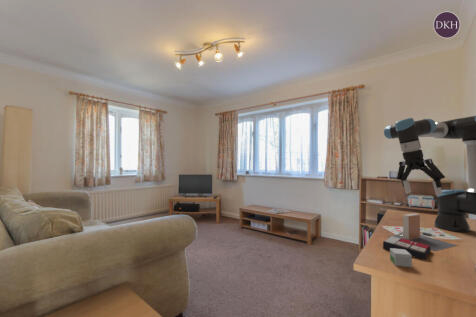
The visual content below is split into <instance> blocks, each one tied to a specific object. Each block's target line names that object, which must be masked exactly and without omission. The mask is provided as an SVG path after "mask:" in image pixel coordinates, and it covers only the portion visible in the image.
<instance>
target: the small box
mask: <svg viewBox="0 0 476 317" xmlns="http://www.w3.org/2000/svg"><path fill="white" fill-rule="evenodd" d="M389 260H390V261H391V262H392V263H393V265H394V266H396V267H403V268H404V267H405V268H413V257H412V255H411V254H410V253H409V252H407V251H406V250H405V249H395V248H390V251H389Z"/></svg>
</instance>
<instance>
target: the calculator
mask: <svg viewBox="0 0 476 317" xmlns="http://www.w3.org/2000/svg"><path fill="white" fill-rule="evenodd" d="M390 236H391V237H388V238H386V239H385V240H383V241H382V242H383V243H382V249H383V250H384V251H385V250H386V251H389V252H390V248H395V249H405V250H406V251H407V252H409V253H410V254H411V255H412V258H416V259H419V260H424V261H425V260H427V257H428V256H429V254H430V253H431V251H432V250H431V247H429V246H428V245H424V244H420V243H417V242H413V241H409V240H405V239H400V238H396V237H393V235H390Z"/></svg>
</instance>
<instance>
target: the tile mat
mask: <svg viewBox="0 0 476 317" xmlns="http://www.w3.org/2000/svg"><path fill="white" fill-rule="evenodd" d="M402 234H403V233H399V234H395V235H394V234H393V235H388V238H389V237H391V236H393V237H396V238H400V239H404V238H403V236H400V235H402ZM405 240H408V239H405ZM409 241H413V242H417V243H420V244H424V245H428V246H429V247H431V250H430V251H433V252H437V251H442V250H445V249H449V248H453V247H458V246H459V245H457V244H455V243H451V242H447V241H443V240H440V239H437V238H433V237H429V236H425V235H421V234H420V238H415V239H410V240H409Z"/></svg>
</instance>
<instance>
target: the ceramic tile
mask: <svg viewBox="0 0 476 317" xmlns="http://www.w3.org/2000/svg"><path fill="white" fill-rule="evenodd" d="M420 217H421V215H420V213H416V212H415V213H414V212H413V213H407V214H402V229H403V230H402V232H403V233H402V234H403V238H404V239H408V240H410V239H415V238H420V235H421V218H420Z"/></svg>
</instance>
